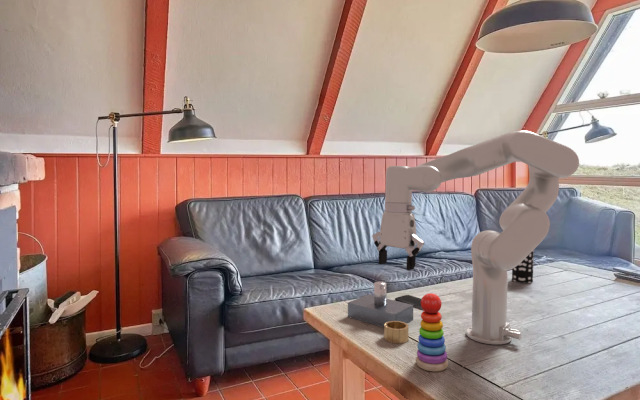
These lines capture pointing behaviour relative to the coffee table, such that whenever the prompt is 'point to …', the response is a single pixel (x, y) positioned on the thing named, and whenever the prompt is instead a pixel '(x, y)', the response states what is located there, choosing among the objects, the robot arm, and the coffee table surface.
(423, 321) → the stacking toy
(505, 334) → the robot arm
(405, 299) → the phone
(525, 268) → the spotted tube
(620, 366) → the coffee table surface
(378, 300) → the grey peg board
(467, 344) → the coffee table surface
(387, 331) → the bronze ring
